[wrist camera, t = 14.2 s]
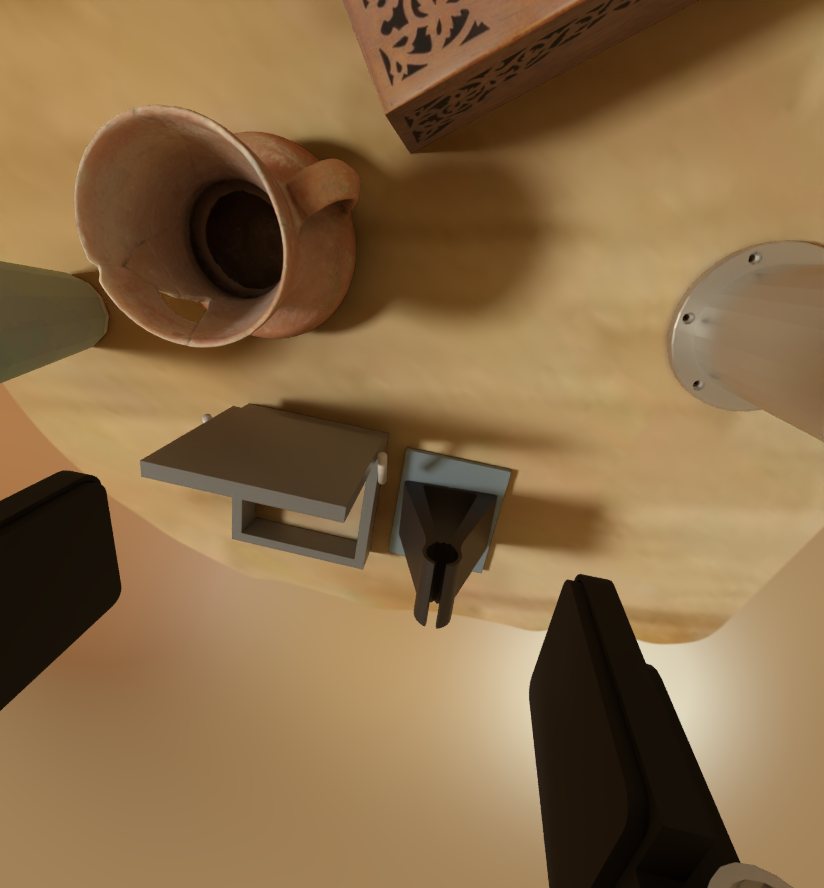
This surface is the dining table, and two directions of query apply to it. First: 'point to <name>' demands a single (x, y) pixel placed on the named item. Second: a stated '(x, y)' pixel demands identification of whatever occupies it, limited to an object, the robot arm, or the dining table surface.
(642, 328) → the dining table surface
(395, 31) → the tissue box cover
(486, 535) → the phone stand
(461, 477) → the slate mat
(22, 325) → the disposable coffee cup
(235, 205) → the ceramic jug
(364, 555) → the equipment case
